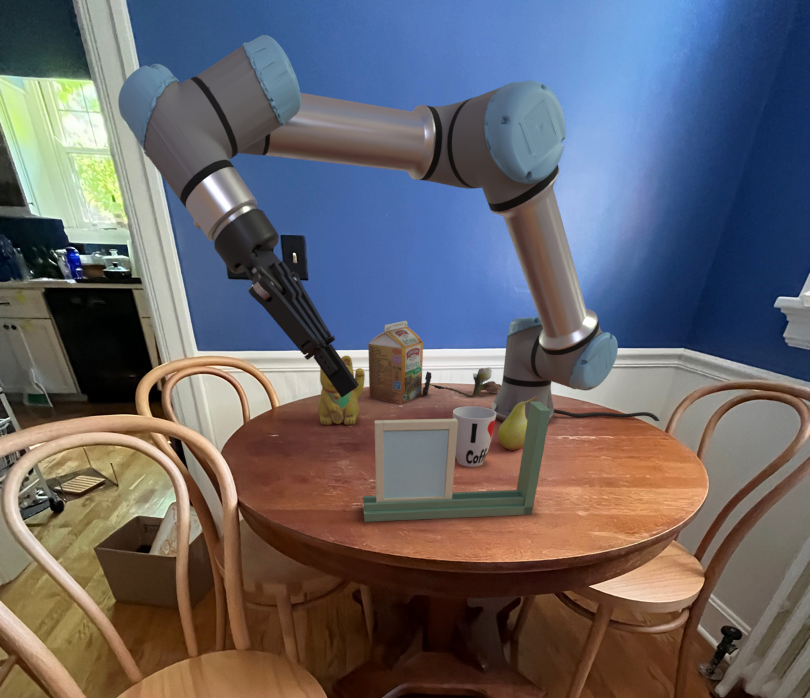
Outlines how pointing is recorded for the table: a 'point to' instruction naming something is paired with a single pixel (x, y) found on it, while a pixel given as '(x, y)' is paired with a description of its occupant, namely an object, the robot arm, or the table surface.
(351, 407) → the figurine
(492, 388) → the artificial flower
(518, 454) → the table surface
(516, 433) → the fruit
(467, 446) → the cup
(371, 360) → the milk carton
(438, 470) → the window pane
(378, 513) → the green l-shaped bracket
